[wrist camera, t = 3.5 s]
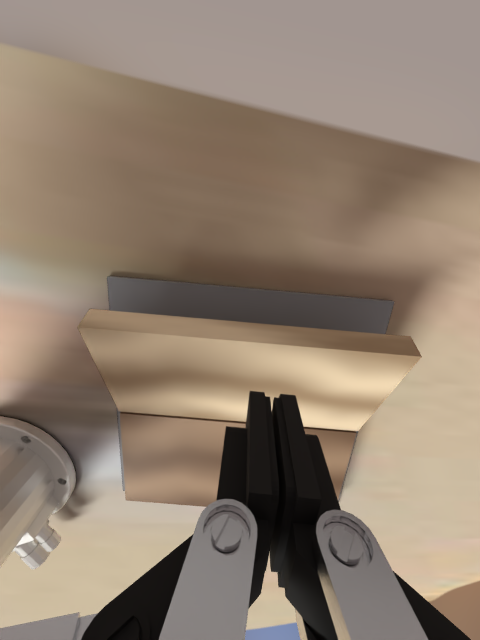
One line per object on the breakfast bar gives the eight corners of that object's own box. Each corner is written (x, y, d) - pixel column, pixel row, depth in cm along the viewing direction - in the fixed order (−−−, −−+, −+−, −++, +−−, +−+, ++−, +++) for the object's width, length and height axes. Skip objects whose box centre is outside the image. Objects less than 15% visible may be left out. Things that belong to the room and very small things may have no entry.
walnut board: (328, 500, 28) (333, 516, 26) (132, 485, 28) (125, 500, 26) (349, 420, 25) (356, 432, 23) (127, 401, 24) (119, 413, 23)
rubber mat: (335, 503, 28) (336, 507, 28) (124, 486, 28) (122, 490, 28) (391, 300, 21) (394, 301, 21) (109, 275, 21) (107, 276, 21)
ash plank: (353, 413, 24) (357, 431, 23) (125, 394, 24) (118, 411, 23) (410, 336, 17) (421, 356, 16) (89, 308, 17) (77, 327, 16)
